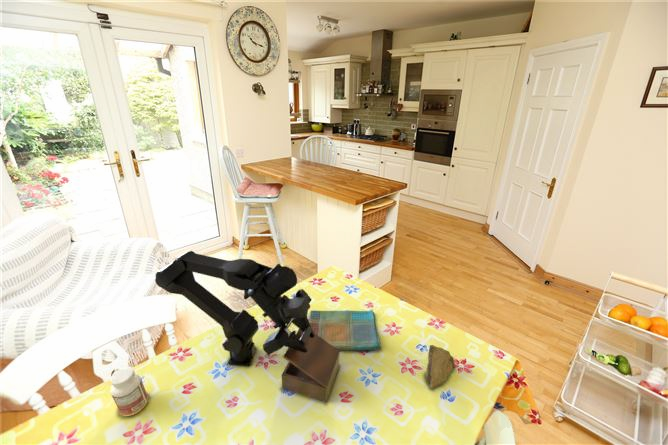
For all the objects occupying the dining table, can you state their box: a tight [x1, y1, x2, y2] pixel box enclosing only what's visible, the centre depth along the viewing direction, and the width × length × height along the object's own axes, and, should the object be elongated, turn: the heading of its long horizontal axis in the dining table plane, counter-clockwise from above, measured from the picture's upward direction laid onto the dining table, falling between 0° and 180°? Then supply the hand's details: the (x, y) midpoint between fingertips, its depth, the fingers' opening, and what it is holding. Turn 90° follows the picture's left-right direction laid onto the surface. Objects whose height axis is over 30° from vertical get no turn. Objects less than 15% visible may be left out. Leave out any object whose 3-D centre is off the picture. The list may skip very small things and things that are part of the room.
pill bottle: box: [109, 366, 149, 417], centre depth 72 cm, size 6×6×11 cm
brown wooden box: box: [280, 354, 340, 403], centre depth 81 cm, size 13×12×5 cm
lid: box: [282, 327, 341, 388], centre depth 77 cm, size 13×12×5 cm
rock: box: [425, 344, 456, 390], centre depth 82 cm, size 11×9×10 cm
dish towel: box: [308, 309, 382, 351], centre depth 97 cm, size 17×23×2 cm
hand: (309, 344), depth 77 cm, fingers closed on lid, 5 cm apart
